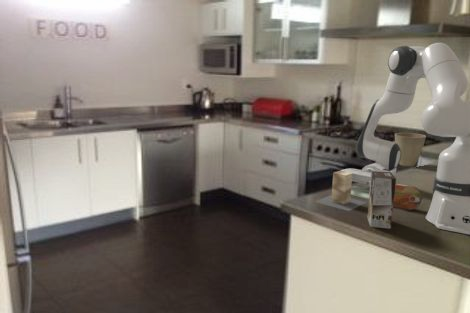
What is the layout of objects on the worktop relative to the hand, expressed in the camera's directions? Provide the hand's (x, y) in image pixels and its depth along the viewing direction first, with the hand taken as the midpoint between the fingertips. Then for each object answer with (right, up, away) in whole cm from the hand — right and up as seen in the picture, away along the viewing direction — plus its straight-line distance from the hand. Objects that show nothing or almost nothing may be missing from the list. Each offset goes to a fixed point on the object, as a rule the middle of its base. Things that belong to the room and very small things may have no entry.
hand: (356, 181), depth 159 cm
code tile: (-8, -7, -7) cm, 13 cm away
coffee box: (-1, -12, -27) cm, 29 cm away
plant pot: (+43, +5, +57) cm, 72 cm away
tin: (+12, -9, -10) cm, 18 cm away
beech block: (-8, -7, -7) cm, 13 cm away
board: (+4, -5, +5) cm, 8 cm away
